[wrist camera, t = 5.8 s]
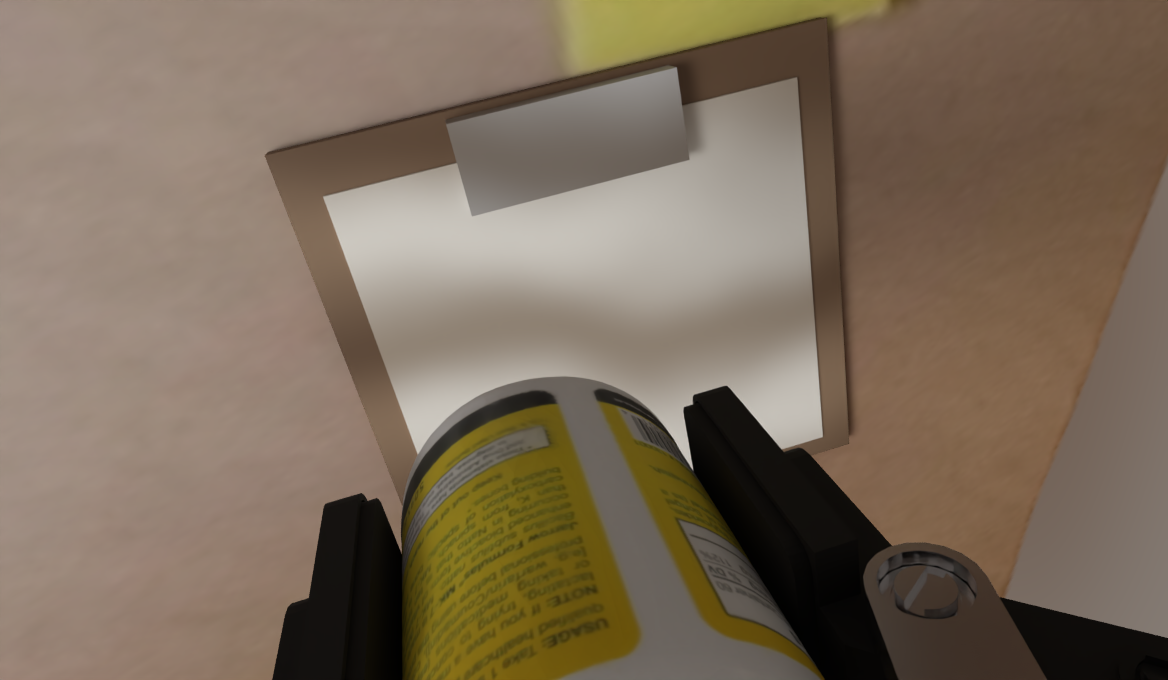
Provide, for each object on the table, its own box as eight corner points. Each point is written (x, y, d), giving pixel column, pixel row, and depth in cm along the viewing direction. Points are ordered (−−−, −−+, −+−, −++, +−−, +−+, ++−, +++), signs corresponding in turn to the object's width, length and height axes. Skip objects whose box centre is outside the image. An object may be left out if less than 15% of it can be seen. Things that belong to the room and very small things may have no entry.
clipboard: (267, 152, 19) (259, 161, 18) (819, 17, 21) (839, 18, 20) (428, 564, 25) (429, 587, 24) (843, 437, 27) (859, 454, 26)
